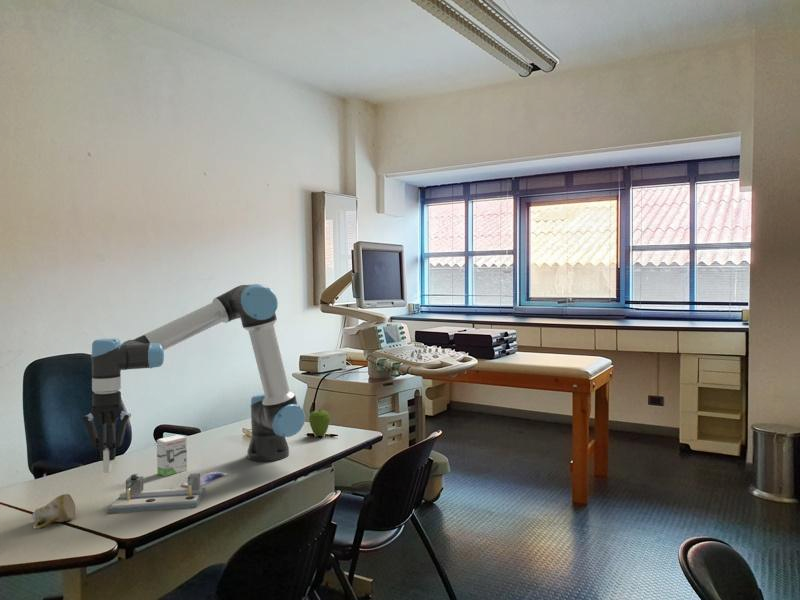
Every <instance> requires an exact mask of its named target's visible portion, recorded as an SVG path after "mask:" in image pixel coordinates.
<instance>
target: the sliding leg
mask: <svg viewBox="0 0 800 600" xmlns="http://www.w3.org/2000/svg"><path fill="white" fill-rule="evenodd" d="M142 491H145V490H144V476H139V474H138V473H134V474H131V475H130V476H129V477H128V478H126V480H125V492H126V494H127V501H130V494H138V493H141V492H142Z"/></svg>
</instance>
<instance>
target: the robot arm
mask: <svg viewBox="0 0 800 600" xmlns="http://www.w3.org/2000/svg"><path fill="white" fill-rule="evenodd" d="M278 304H279V303H278V298H277V295H276V293H275V292H274V290H272V289H271V288H269V287H268V286H266V285H263V284H261V283H259V284H258V283H255V284H254V283H253V284H241V285H238V286H235V287H234V288H232V289H230V290H228V291H226V292H224V293H222V294H220V295H218V296H217V297H214V298H213V300H212V302H210V303H209V304H206V305H205V306H204V305H203V306H202V307H199V308H197V309H195V310H193V311H191V312H189V313H186V314H184V315H183V316H181V317H178V318H176V319H174V320H172V321H170V322H168V323H165V324H163V325H162V326H160V327H157V328H155V329H153V330H151V331H149V332H146V333H144V334H143V335H141V336H138V337H136V338H134V339H128V340H126V341H123V342H122V343H121V340H120V339H119V338H99V339H95V340H93V342H92V344H91V391H92V392H93V393H92V397H91V398H92V399H91V400H92V409H91V410H90V412H89V413H88V414H86V415H84V416H82V421H83V423H85V425H86V428H87V432H88V436H89V439H90V443H91V446H92V448H93V449H98V450H99V460H100V462H101V461H102V462H103V465H102V466H103V474H105V473H106V474H107V473H110V472H111V471H112V470H113V461H114V460H115V459H116V449H117V448H119V447H120V446H122V445H123V442H124V437H125V432H126V430H127V429H126V428H127V425H128V422H129V420H130V418H131V417H132V414H131V413H127V412H126V411H123V410H124V409H123V407H122V392H121V388H122V385H121V384H122V383H121V382H122V380H121V379H122V377H121V371H126V370H139V369H153V368H154V369H155V368H159V367H161V366H162V365H163V364H164V359H165V354H164V351H166V350H167V349H170V348H171V347H174V346H176V345H178V344H180V343H181V342H183V341H186V340H188V339H190V338H192V337H194V336H196V335H198V334H201V333H203V332H205V331H206V330H208V329H210V328H212V327H215V326H216V325H219V324H221V323H225V324H227V323H229V322H231V321H233V320H234V321H235V320H237V319H240V321H241V325H242V328H243V329H245V330H246V331H247V332H248V335H249V337H250V339H249V340H250V342H251V346H252V350H253V353H254V358H255V362H256V365H257V370H258V374H259V377H260V382H261V385H262V390H263V393H264V394H263V393H262V394H261V393H260V394H256V395H254V396H252V397H251V399H250V417H251V418H250V419H251V420H250V421H251V422H250V423H251V437H250V441H249V445H248V448H247V456H246V457H247V460H250V461H255V462H271V461H273V462H274V461H278V460H283V459H285V458H287V457H289V456H290V448H289V447H290V446H289V444H288V442H287V439H286V438H290V437H294V436H295V435H297V434H299V432H300V431H302V428H303V427H304V425H305V421H306V414H305V411H304V408H302V407H301V405H298V402H297V401H298V400H297V396H296V394H295V392H294V391H292V390H290V386H289V384H288V379H287V375H286V371H285V367H284V362H283V360H282V358H283V357H282V354H281V350H280V346H279V342H278V338H277V337H278V336H277V335H276V330H275V327H274V325H275V323H276V321H277V314H276V311H277V309H278V306H279V305H278ZM119 417H120V420H121V421H120V423H119V428H118V430H117V431H118V432H116V425H117V421H118V419H119ZM94 419H95V420H96V422H97V426H98V431H97V427H96V425H95V421H94ZM107 432H108V433H107ZM116 433H117V434H116ZM116 435H117V436H116ZM107 437H108V443H107ZM107 444H108V445H107Z"/></svg>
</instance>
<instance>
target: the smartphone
mask: <svg viewBox="0 0 800 600" xmlns="http://www.w3.org/2000/svg"><path fill="white" fill-rule="evenodd" d="M229 475H230V473H228V472H222V471H217V470H213V471H210V472H208V473H205V474H203V475H200V485H201V486H200V487H206V486H207V485H210V484H212V483H214V482H217V481H219V480H221V479H224V478H226V477H228V476H229ZM180 487H181V488H188V481H186V482H183V483H181V485H180Z"/></svg>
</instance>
